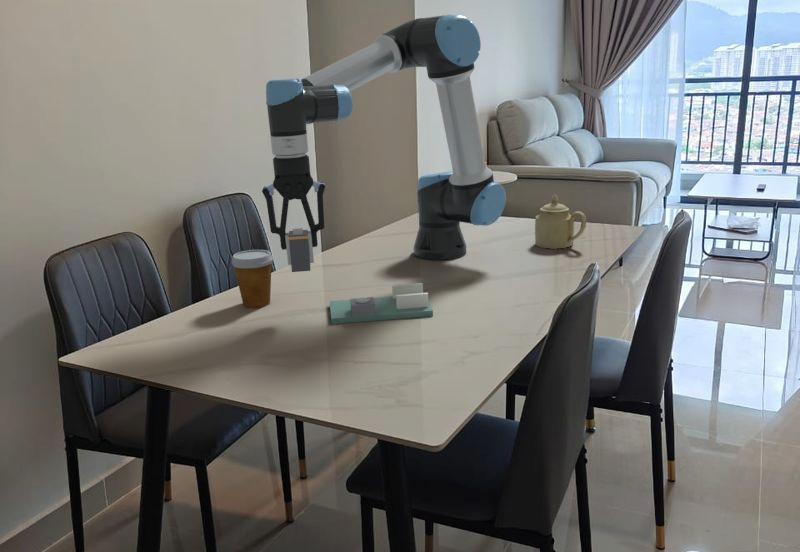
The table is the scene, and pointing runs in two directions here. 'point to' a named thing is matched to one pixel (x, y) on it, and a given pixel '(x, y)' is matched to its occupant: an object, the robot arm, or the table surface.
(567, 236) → the pale yellow ceramic pot
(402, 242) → the table surface
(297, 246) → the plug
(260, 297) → the disposable coffee cup
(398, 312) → the board
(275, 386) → the table surface
